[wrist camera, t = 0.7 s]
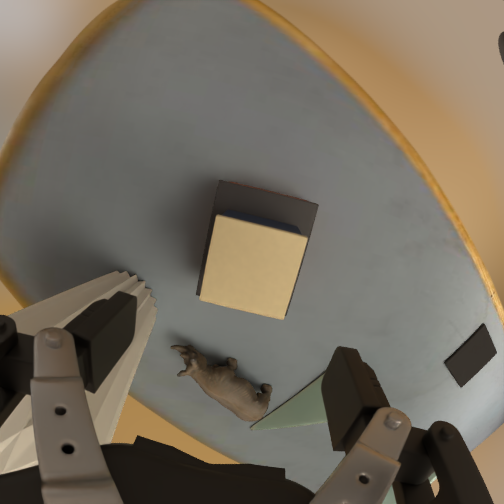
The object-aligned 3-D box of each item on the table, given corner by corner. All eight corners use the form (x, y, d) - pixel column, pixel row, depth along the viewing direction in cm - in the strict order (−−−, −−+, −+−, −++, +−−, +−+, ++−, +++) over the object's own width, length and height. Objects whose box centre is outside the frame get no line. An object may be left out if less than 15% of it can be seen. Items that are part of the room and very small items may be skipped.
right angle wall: (429, 442, 38) (443, 471, 31) (398, 478, 41) (407, 505, 34) (375, 446, 38) (386, 480, 31) (346, 482, 41) (352, 513, 34)
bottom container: (227, 178, 29) (219, 180, 24) (310, 199, 29) (318, 204, 24) (206, 276, 32) (195, 295, 27) (283, 295, 32) (286, 316, 27)
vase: (140, 367, 36) (47, 532, 10) (66, 297, 34) (-76, 415, 8) (203, 306, 33) (105, 535, 7) (116, 223, 31) (-99, 329, 5)
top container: (226, 206, 25) (216, 215, 20) (300, 225, 25) (308, 238, 20) (211, 277, 26) (199, 300, 22) (280, 294, 26) (283, 320, 22)
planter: (283, 451, 38) (390, 409, 31) (255, 454, 34) (373, 411, 27) (271, 406, 44) (369, 358, 37) (244, 404, 40) (351, 351, 33)
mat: (444, 362, 33) (445, 363, 33) (483, 323, 32) (485, 324, 31) (460, 386, 35) (461, 387, 34) (495, 351, 33) (497, 352, 33)
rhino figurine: (189, 321, 33) (175, 349, 27) (278, 385, 35) (279, 419, 29) (170, 342, 34) (154, 371, 28) (256, 402, 36) (254, 435, 30)
